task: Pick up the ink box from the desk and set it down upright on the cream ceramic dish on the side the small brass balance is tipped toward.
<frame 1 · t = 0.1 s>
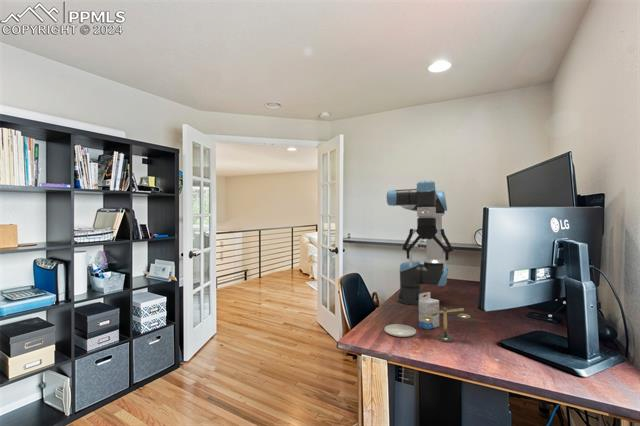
hand: (427, 267, 128), 28 cm above the table, fingers open, 13 cm apart
balance: (445, 339, 121), on the table
ink box: (429, 327, 135), on the table
dish: (400, 332, 129), on the table
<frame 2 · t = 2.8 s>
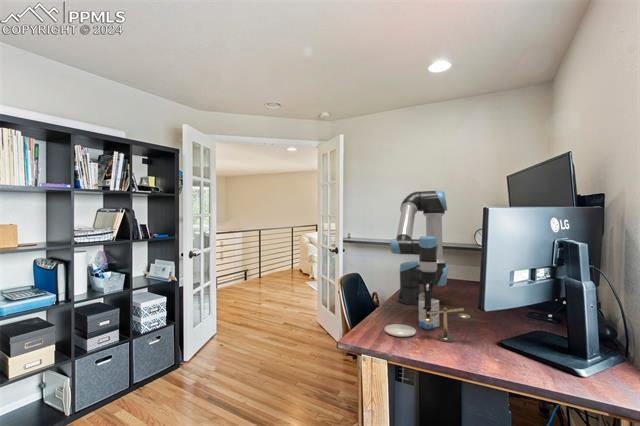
hand: (429, 320, 135), 3 cm above the table, fingers closed on ink box, 9 cm apart
ink box: (429, 326, 135), on the table, touching gripper
when the fingers open (5 cm above the table, at t = 7.8 s): ink box drops 1 cm, resting on dish.
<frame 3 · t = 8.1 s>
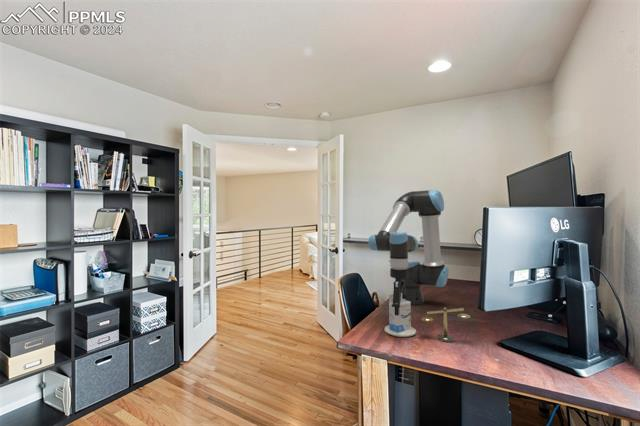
hand: (399, 317, 129), 6 cm above the table, fingers open, 13 cm apart
ink box: (400, 329, 129), point 1 cm above the table, touching dish
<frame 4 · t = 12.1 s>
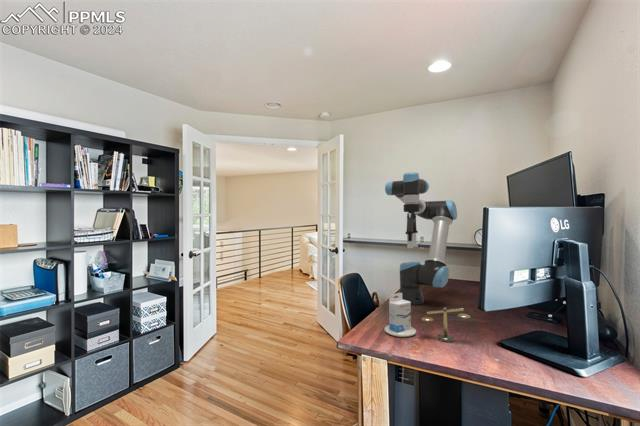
hand: (412, 246, 149), 35 cm above the table, fingers open, 13 cm apart
nothing on the table moved.
at the end: ink box 0.2 cm from the dish (horizontally); ink box tilted 0°; ink box touching dish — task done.
